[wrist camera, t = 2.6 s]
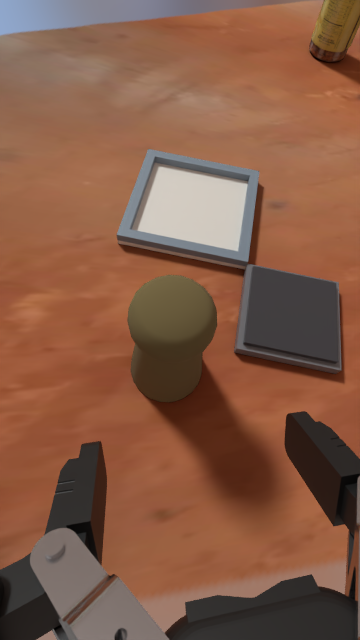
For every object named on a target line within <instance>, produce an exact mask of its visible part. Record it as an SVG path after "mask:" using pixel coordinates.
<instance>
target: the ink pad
mask: <svg viewBox="0 0 360 640" xmlns="http://www.w3.org/2000/svg"><path fill="white" fill-rule="evenodd" d="M234 353H239V354H244V355H248V356H253V357H258V358H263V359H267V360H272V361H277V362H282V363H286V364H291V365H296V366H300V367H305V368H310V369H315V370H319V371H324V372H329V373H334V374H336V373H338V372H340V371H341V342H340V311H339V282H334V281H329V280H324V279H319V278H314V277H309V276H305V275H300V274H295V273H290V272H285V271H280V270H276V269H271V268H266V267H261V266H256V265H251V264H247V265H246V268H245V271H244V279H243V286H242V294H241V302H240V310H239V318H238V325H237V333H236V341H235V349H234Z"/></svg>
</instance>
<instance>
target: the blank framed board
mask: <svg viewBox="0 0 360 640" xmlns="http://www.w3.org/2000/svg"><path fill="white" fill-rule="evenodd" d="M258 178H259V171H255V170H250V169H245V168H240V167H235V166H230V165H225V164H220V163H216V162H211V161H206V160H201V159H196V158H191V157H186V156H181V155H176V154H171V153H166V152H161V151H156V150H151V149H148V151H147V154H146V157H145V159H144V162H143V165H142V168H141V170H140V173H139V176H138V178H137V181H136V184H135V187H134V189H133V192H132V195H131V197H130V200H129V203H128V206H127V208H126V211H125V214H124V216H123V219H122V222H121V225H120V227H119V230H118V233H117V240H118V244H123V245H128V246H133V247H138V248H143V249H147V250H152V251H157V252H162V253H167V254H172V255H177V256H181V257H186V258H191V259H196V260H201V261H206V262H210V263H215V264H220V265H225V266H230V267H235V268H239V269H244V270H245V268H246V265H247V263H248V259H249V251H250V243H251V234H252V226H253V218H254V210H255V202H256V194H257V186H258Z"/></svg>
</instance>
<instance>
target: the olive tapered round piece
mask: <svg viewBox="0 0 360 640" xmlns="http://www.w3.org/2000/svg"><path fill="white" fill-rule="evenodd" d="M127 321H128V325H129V329H130V333H131V337H132V339H133V340H134V342H135V347H134V351H133V356H132V362H131V373H132V377H133V381H134V383H135V384H136V386H137V387H138V389H139V390H140V391H141V392H142V393H143V394H144V395H146V396H147V397H148V398H151V399H153V400H156V401H159V402H173V401H177V400H180V399H183V398H184V397H186V396H187V395H189V394H190V393H192V391H193V390H194V389H195V387H196V386H197V385H198V383H199V380H200V377H201V374H202V352H203V351H204V350H205V349H206V347H207V346H208V345H209V343H210V342H211V341H212V339H213V336H214V333H215V330H216V327H217V311H216V307H215V304H214V302H213V299H212V297H211V296H210V294H209V293H208V292H207V291H206V289H205V288H204V287H202V286H201V285H200V284H198V283H197V282H195V281H194V280H192V279H189V278H186V277H183V276H178V275H167V276H162V277H157V278H155V279H153V280H151V281H149V282H147V283H145V284H144V285H143V286H142V287H141V288H140V289H139V290H138V291H137V292H136V293H135V295H134V297H133V300H132V302H131V304H130V306H129V311H128V320H127Z"/></svg>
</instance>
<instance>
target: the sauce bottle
mask: <svg viewBox="0 0 360 640" xmlns="http://www.w3.org/2000/svg"><path fill="white" fill-rule="evenodd" d="M359 26H360V0H324V2H323V5H322V8H321V11H320V13H319V16H318V19H317V22H316V25H315V28H314V31H313V34H312V39H311V42H310V45H309V47H310V48H309V49H310V51H311V53H312V54H313V55H314V56H315V57H316V58H318V59H320V60H322V61H325V62H333V61H335V62H336V61H340V60H342V59H343V58H344V57H345V54H346V53H347V50H348V48H349V47H350V46H351V44H352V42H353V39H354V37H355V35H356V33H357V30H358V28H359Z"/></svg>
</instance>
